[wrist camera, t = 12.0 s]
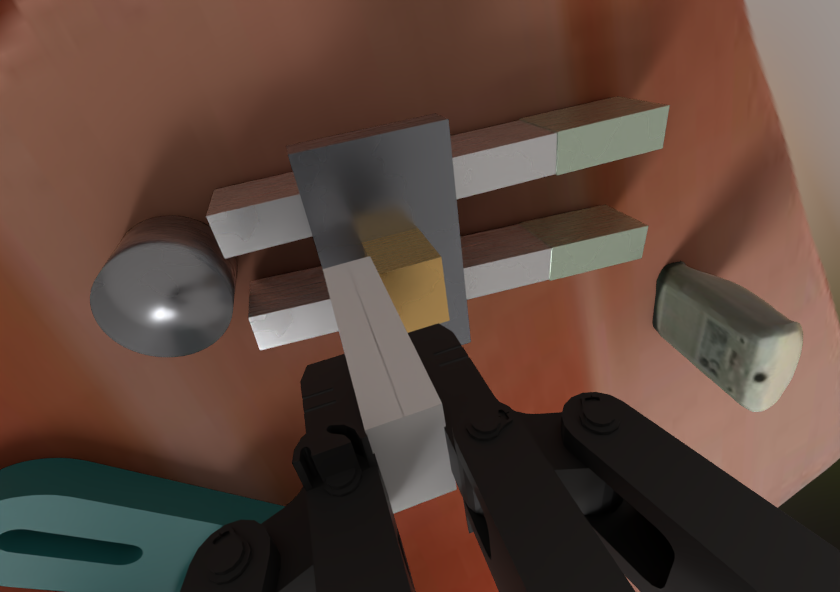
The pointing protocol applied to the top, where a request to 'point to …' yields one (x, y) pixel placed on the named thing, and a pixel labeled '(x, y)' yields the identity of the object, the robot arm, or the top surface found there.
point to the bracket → (106, 526)
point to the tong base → (286, 221)
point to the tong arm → (482, 262)
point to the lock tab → (390, 213)
